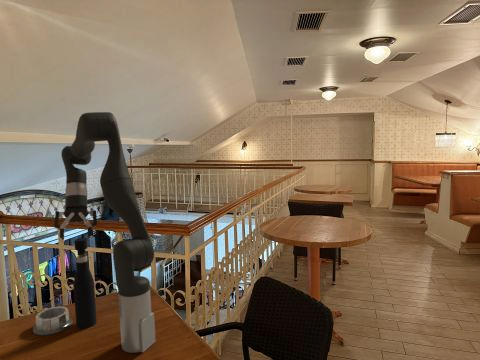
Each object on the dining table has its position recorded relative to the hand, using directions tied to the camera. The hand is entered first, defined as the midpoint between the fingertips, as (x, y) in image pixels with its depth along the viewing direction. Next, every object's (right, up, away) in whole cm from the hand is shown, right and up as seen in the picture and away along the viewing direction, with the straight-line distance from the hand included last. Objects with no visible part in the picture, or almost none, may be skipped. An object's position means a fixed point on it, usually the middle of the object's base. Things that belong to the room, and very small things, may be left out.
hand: (76, 238), depth 123 cm
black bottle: (+7, -28, -7) cm, 30 cm away
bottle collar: (-4, -29, -8) cm, 30 cm away
